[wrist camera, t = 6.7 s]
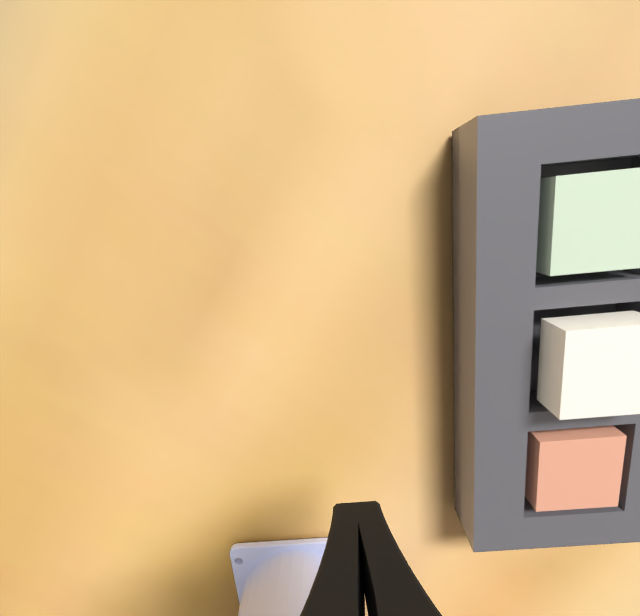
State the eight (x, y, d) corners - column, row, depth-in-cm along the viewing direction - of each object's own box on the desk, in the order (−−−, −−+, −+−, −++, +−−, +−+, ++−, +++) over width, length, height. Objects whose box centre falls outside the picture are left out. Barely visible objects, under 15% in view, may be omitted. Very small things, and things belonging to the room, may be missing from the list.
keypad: (625, 496, 22) (669, 539, 19) (454, 508, 23) (473, 552, 20) (676, 107, 17) (748, 86, 14) (452, 131, 17) (477, 115, 14)
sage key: (616, 261, 17) (648, 267, 16) (527, 269, 18) (550, 276, 16) (625, 169, 16) (661, 165, 15) (531, 179, 16) (556, 176, 15)
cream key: (623, 392, 18) (656, 412, 16) (536, 399, 18) (559, 420, 16) (633, 310, 17) (669, 322, 15) (541, 318, 17) (565, 331, 15)
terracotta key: (593, 480, 20) (617, 506, 19) (518, 486, 21) (535, 511, 19) (599, 415, 19) (626, 435, 18) (521, 421, 20) (539, 442, 18)
